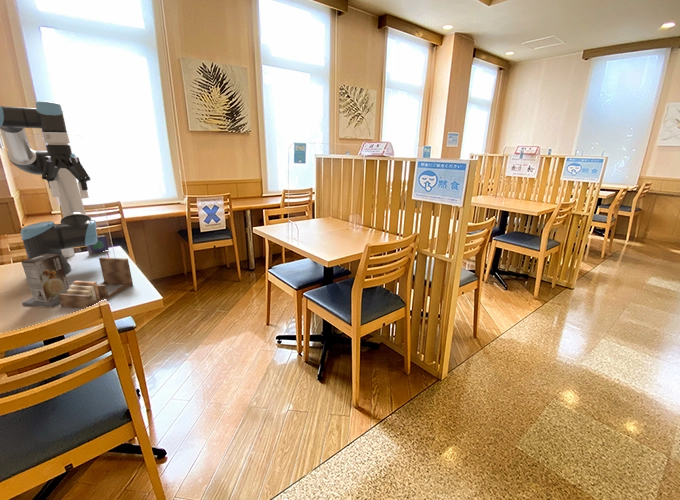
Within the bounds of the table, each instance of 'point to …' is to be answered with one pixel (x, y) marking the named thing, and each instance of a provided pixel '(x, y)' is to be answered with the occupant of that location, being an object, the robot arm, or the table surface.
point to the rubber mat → (42, 303)
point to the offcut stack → (85, 289)
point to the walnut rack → (113, 274)
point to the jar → (67, 252)
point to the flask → (98, 246)
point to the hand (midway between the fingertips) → (70, 197)
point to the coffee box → (45, 277)
